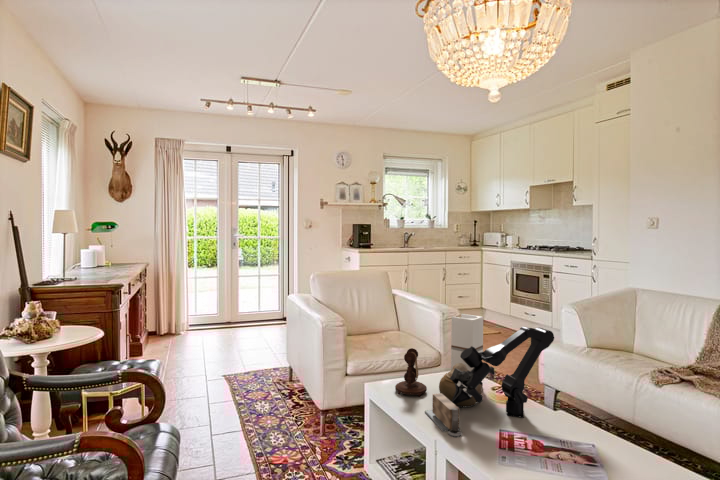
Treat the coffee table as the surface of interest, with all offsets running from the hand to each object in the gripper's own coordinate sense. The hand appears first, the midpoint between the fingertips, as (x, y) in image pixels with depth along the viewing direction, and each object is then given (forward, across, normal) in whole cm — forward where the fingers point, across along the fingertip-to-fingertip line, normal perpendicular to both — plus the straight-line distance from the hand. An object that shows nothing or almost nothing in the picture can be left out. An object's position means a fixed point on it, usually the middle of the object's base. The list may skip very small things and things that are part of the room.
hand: (451, 404), depth 175 cm
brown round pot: (-3, -17, +13) cm, 22 cm away
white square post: (-12, -32, +21) cm, 40 cm away
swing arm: (+6, +3, +1) cm, 7 cm away
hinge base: (+8, +11, +2) cm, 14 cm away
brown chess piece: (+8, -34, +2) cm, 35 cm away
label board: (+8, -1, +2) cm, 8 cm away
